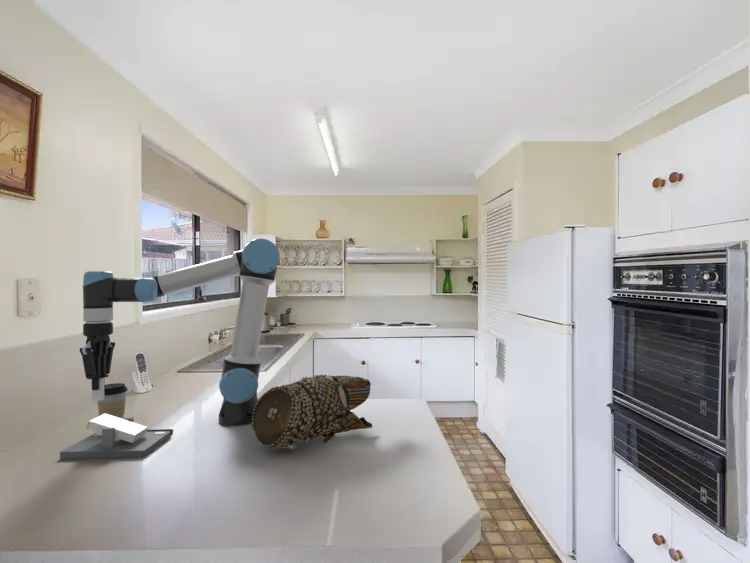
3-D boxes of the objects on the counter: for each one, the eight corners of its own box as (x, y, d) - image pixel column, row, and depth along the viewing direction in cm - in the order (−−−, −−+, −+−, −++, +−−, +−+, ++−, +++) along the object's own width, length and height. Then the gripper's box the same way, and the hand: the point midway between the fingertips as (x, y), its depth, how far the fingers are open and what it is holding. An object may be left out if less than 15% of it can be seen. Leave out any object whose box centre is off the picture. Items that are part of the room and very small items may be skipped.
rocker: (145, 434, 127) (148, 426, 127) (132, 443, 120) (134, 435, 120) (102, 420, 127) (104, 413, 127) (86, 428, 120) (88, 420, 120)
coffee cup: (112, 435, 133) (111, 390, 133) (88, 434, 135) (87, 389, 135) (134, 425, 143) (134, 383, 143) (111, 424, 144) (111, 382, 145)
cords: (174, 432, 136) (174, 428, 136) (170, 435, 133) (170, 431, 133) (123, 433, 136) (123, 429, 136) (118, 436, 133) (118, 432, 133)
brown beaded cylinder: (329, 379, 152) (244, 381, 127) (370, 358, 140) (286, 355, 115) (342, 445, 142) (253, 461, 117) (388, 428, 130) (300, 443, 105)
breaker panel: (170, 437, 131) (170, 414, 131) (144, 457, 116) (144, 431, 116) (96, 438, 131) (95, 415, 131) (60, 458, 116) (59, 432, 116)
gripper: (100, 320, 130) (100, 394, 130) (69, 324, 117) (69, 406, 117) (123, 320, 130) (123, 394, 130) (96, 324, 117) (96, 406, 117)
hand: (98, 399), depth 123 cm, fingers closed
